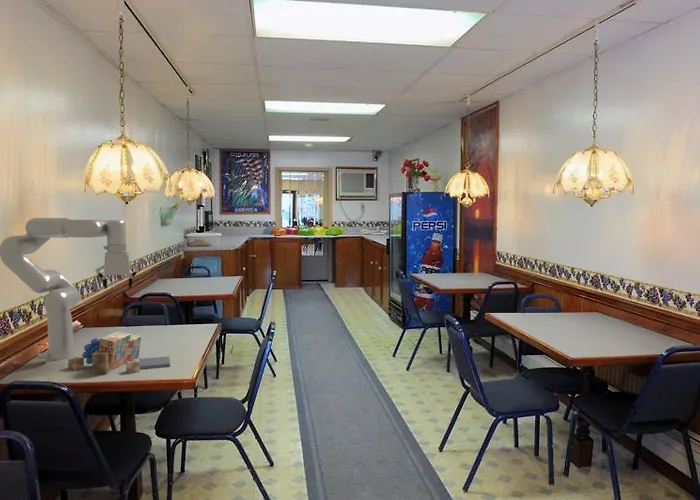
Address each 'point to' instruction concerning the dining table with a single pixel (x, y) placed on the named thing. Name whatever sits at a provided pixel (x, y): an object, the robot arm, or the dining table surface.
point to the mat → (154, 362)
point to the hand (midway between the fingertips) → (118, 287)
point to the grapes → (91, 350)
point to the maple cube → (133, 366)
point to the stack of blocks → (120, 347)
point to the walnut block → (101, 362)
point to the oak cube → (76, 363)
